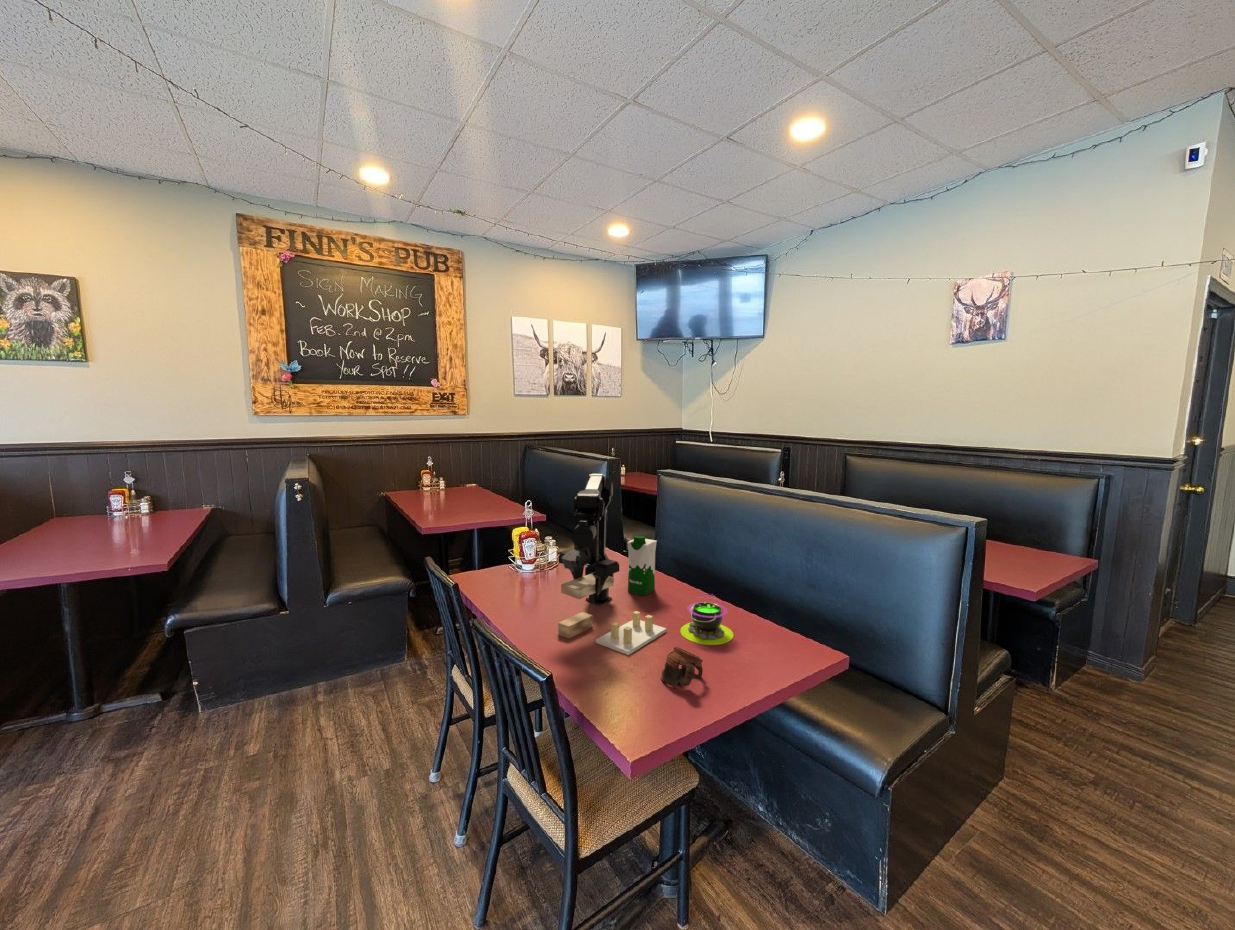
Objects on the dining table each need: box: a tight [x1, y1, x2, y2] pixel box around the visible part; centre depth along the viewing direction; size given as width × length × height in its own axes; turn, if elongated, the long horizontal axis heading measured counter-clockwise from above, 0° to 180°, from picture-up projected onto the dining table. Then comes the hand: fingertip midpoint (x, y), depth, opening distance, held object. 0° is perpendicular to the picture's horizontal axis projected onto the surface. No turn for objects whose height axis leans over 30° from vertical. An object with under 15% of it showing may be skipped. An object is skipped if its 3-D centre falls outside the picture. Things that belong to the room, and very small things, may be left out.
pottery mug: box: [660, 646, 704, 689], centre depth 119 cm, size 12×10×8 cm
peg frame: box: [595, 610, 667, 656], centre depth 141 cm, size 18×11×5 cm, turn 142°
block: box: [557, 611, 594, 640], centre depth 145 cm, size 10×4×4 cm, turn 142°
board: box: [560, 572, 614, 600], centre depth 143 cm, size 14×7×2 cm, turn 140°
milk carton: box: [627, 534, 658, 597], centre depth 176 cm, size 9×9×20 cm
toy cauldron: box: [679, 592, 734, 646], centre depth 144 cm, size 15×15×11 cm
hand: (588, 591), depth 143 cm, fingers closed on board, 7 cm apart
